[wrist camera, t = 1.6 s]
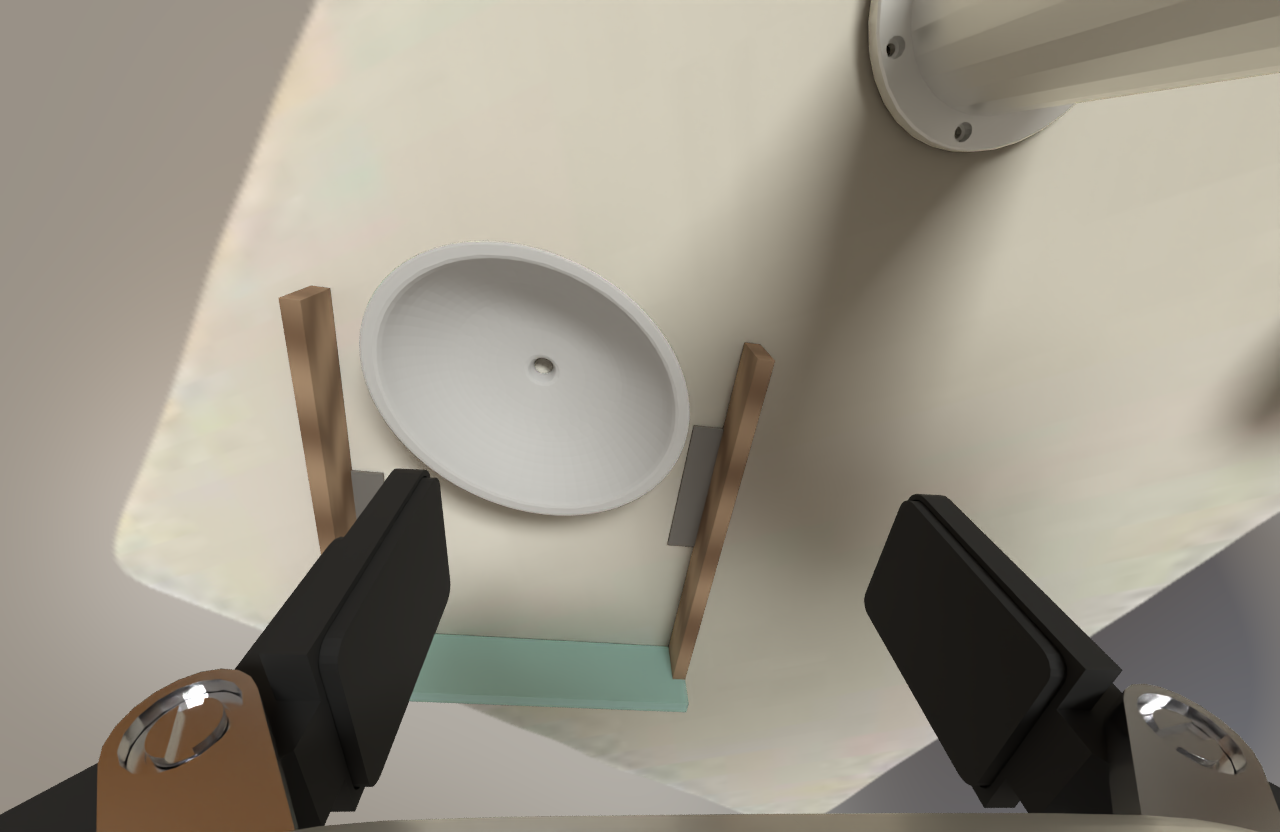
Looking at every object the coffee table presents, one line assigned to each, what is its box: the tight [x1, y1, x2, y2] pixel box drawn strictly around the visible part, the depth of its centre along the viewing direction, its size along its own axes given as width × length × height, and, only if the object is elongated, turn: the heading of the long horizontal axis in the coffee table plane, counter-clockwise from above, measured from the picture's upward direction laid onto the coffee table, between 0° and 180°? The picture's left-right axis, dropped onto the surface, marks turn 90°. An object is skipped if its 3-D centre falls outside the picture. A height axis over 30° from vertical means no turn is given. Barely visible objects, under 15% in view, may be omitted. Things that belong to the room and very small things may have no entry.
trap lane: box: [279, 286, 775, 712], centre depth 33 cm, size 28×26×5 cm
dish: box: [359, 241, 690, 516], centre depth 28 cm, size 18×14×5 cm
